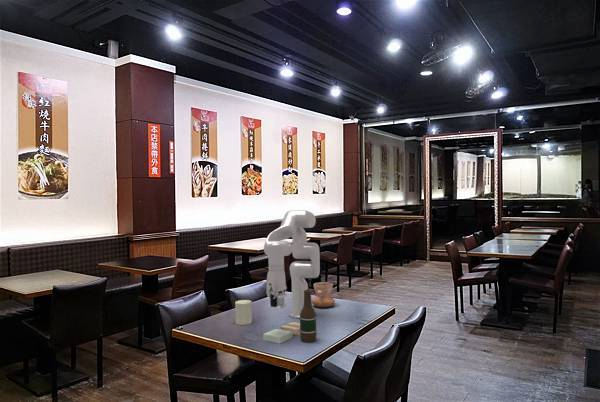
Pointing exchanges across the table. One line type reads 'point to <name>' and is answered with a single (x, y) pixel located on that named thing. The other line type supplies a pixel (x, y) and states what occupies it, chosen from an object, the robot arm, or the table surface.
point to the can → (243, 312)
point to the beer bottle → (307, 319)
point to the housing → (279, 300)
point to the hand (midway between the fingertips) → (277, 305)
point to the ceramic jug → (323, 295)
